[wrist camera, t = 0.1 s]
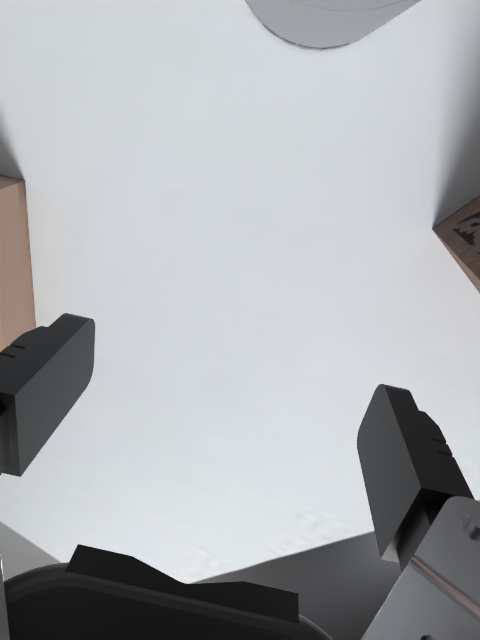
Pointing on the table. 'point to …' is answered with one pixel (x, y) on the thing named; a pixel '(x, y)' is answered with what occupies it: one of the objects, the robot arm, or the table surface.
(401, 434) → the robot arm
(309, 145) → the table surface
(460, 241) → the tissue box cover
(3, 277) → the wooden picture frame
